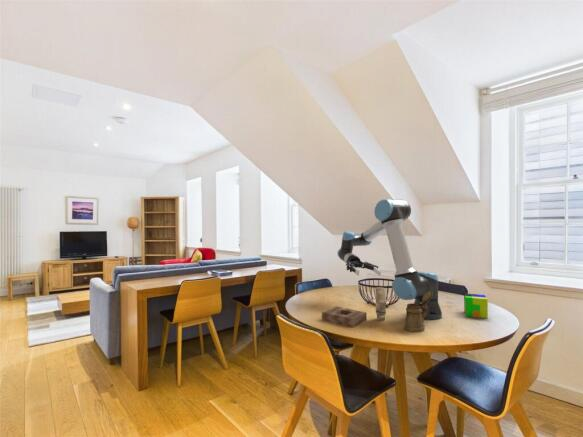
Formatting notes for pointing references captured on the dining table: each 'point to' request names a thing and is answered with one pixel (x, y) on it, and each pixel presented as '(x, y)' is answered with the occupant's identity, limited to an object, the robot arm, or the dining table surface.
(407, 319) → the wooden mug
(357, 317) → the walnut board
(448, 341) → the dining table surface
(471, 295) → the puzzle toy
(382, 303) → the birch peg
